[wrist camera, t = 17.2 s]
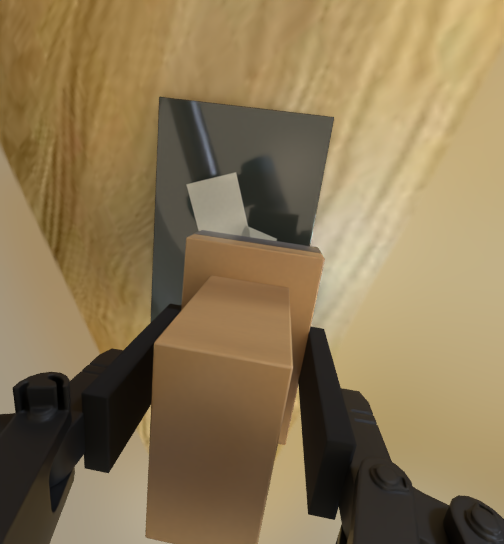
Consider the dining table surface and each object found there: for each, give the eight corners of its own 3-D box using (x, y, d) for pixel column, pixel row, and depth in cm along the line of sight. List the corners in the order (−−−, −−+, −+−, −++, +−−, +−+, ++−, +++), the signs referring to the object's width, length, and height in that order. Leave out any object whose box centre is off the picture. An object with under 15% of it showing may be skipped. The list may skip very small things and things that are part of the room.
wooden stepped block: (201, 229, 15) (104, 276, 7) (318, 247, 15) (361, 319, 7) (187, 392, 18) (106, 562, 10) (285, 410, 17) (286, 603, 9)
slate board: (163, 99, 24) (158, 96, 23) (332, 119, 23) (334, 116, 22) (153, 318, 30) (150, 322, 29) (290, 342, 29) (291, 346, 28)
